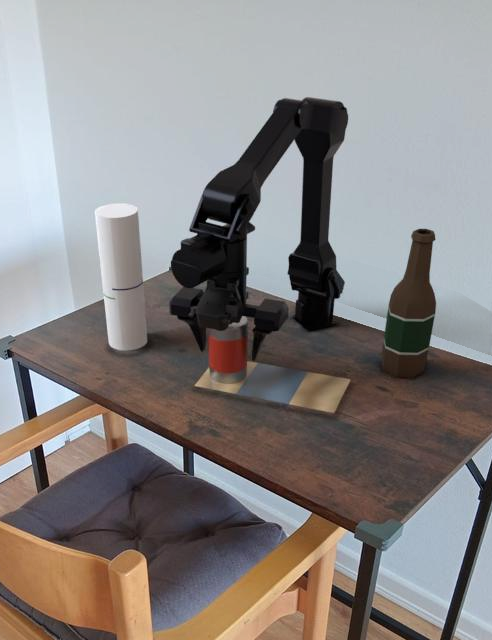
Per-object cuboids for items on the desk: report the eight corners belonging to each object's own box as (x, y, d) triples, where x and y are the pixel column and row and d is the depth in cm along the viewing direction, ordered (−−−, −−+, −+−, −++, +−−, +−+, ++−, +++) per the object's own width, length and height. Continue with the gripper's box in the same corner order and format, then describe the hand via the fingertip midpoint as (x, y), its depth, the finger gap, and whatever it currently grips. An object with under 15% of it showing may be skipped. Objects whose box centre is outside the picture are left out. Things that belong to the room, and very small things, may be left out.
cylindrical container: (142, 356, 136) (131, 218, 121) (104, 353, 138) (89, 216, 122) (151, 338, 142) (142, 204, 126) (115, 335, 143) (102, 202, 128)
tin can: (237, 361, 132) (237, 308, 126) (253, 378, 127) (254, 324, 121) (203, 369, 130) (202, 315, 124) (218, 387, 125) (217, 332, 119)
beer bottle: (373, 372, 130) (392, 235, 115) (386, 353, 135) (406, 219, 120) (418, 382, 127) (443, 243, 112) (430, 362, 132) (455, 226, 117)
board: (350, 384, 127) (350, 379, 126) (333, 418, 119) (334, 412, 118) (218, 360, 135) (218, 355, 134) (194, 390, 127) (194, 385, 126)
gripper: (152, 278, 114) (158, 368, 124) (269, 295, 108) (265, 388, 118) (181, 251, 122) (184, 338, 132) (291, 266, 116) (286, 356, 126)
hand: (228, 355), depth 127 cm, fingers open, 9 cm apart
